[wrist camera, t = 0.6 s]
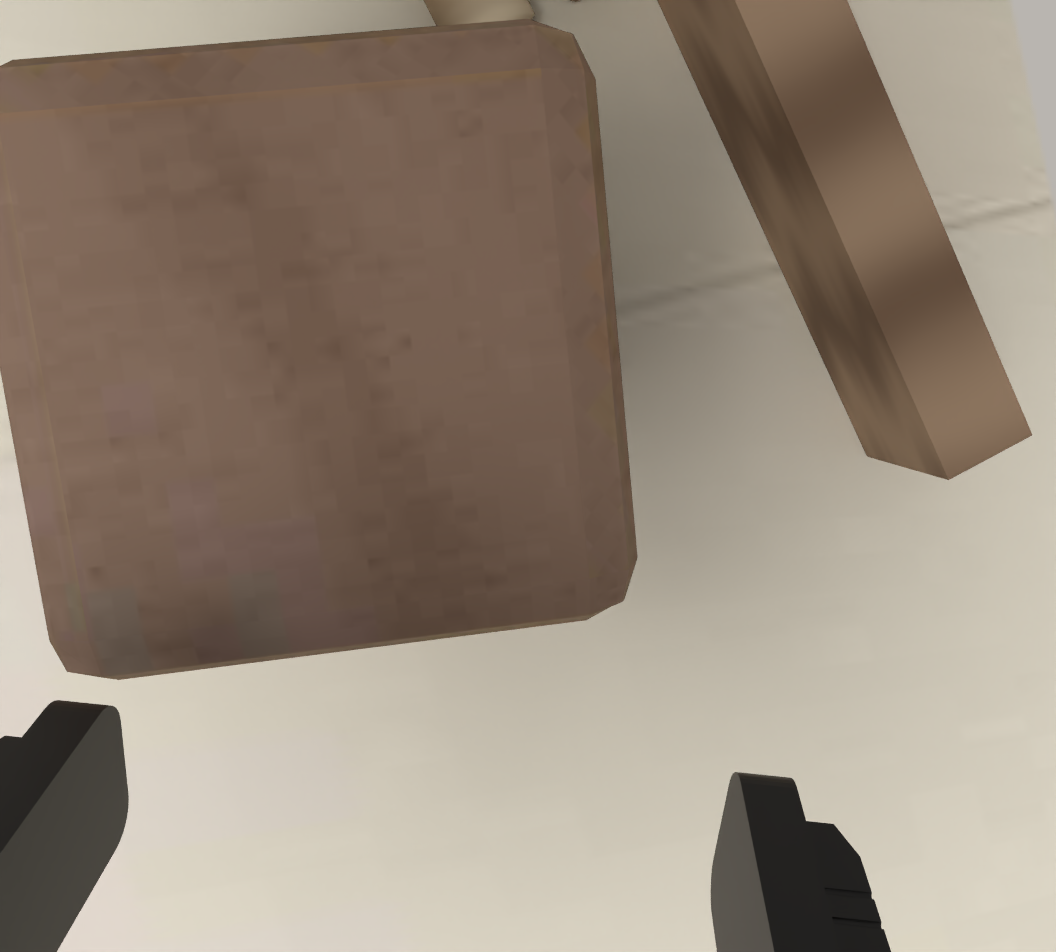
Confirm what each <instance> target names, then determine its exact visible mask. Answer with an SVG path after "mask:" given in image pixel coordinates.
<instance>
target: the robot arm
mask: <svg viewBox="0 0 1056 952" xmlns="http://www.w3.org/2000/svg"><path fill="white" fill-rule="evenodd" d="M128 800H129V799H128V787H127V777H126V768H125V758H124V748H123V739H122V729H121V720H120V715H119V712H118V710H117V709H116V708H115V707H114V706H108V705H99V704H89V703H79V702H70V701H60V700H57V701H53V702H52V703H50V704H49V705H48V706H47V707H46V708H45V709H44V711H43V712H42V713H41V714H40V716H39V717H38V718H37V719H36V721H35V722H34V723H33V724H32V726H31V727H30V728H29V729H28V731H27V732H26V733H25V734H24V736H23V737H22V738H21V737H12V736H4V737H2V738H1V739H0V952H57V950H58V948H59V947H60V945H61V943H62V942H63V940H64V938H65V936H66V935H67V933H68V931H69V929H70V928H71V926H72V924H73V923H74V921H75V919H76V917H77V916H78V914H79V912H80V910H81V909H82V907H83V905H84V904H85V902H86V900H87V898H88V897H89V895H90V893H91V891H92V890H93V888H94V886H95V885H96V883H97V881H98V879H99V878H100V876H101V874H102V872H103V871H104V869H105V867H106V866H107V864H108V862H109V860H110V859H111V857H112V855H113V853H114V852H115V850H116V848H117V846H118V844H119V842H120V839H121V837H122V834H123V831H124V827H125V823H126V819H127V813H128ZM871 894H872V892H871V889H870V886H869V883H868V879H867V876H866V873H865V870H864V867H863V864H862V861H861V858H860V856H859V855H858V854H857V852H856V851H855V850H854V849H853V847H852V846H851V845H850V844H849V843H848V841H847V840H846V839H845V838H844V836H843V835H842V834H841V833H840V831H839V830H838V829H837V828H836V827H835V825H834V824H828V823H818V822H809V821H806V820H805V816H804V812H803V809H802V805H801V801H800V798H799V794H798V790H797V787H796V784H795V782H794V780H793V779H792V778H787V777H777V776H768V775H758V774H748V773H739V772H735V773H733V775H732V777H731V780H730V783H729V787H728V792H727V797H726V802H725V807H724V811H723V816H722V821H721V826H720V831H719V835H718V840H717V845H716V850H715V855H714V860H713V866H712V876H711V910H712V918H713V926H714V933H715V940H716V948H717V952H891V950H890V947H889V944H888V941H887V938H886V935H885V932H884V929H881V919H880V916H879V913H878V910H877V907H876V904H875V901H874V900H873V899H872V898H871Z"/></svg>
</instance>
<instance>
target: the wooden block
mask: <svg viewBox="0 0 1056 952" xmlns="http://www.w3.org/2000/svg"><path fill="white" fill-rule="evenodd" d="M0 371H1V376H2V382H3V387H4V393H5V398H6V404H7V409H8V415H9V420H10V426H11V432H12V437H13V443H14V448H15V454H16V459H17V465H18V470H19V476H20V481H21V487H22V492H23V498H24V503H25V509H26V514H27V520H28V525H29V531H30V536H31V542H32V547H33V553H34V558H35V564H36V569H37V575H38V580H39V586H40V592H41V597H42V603H43V608H44V614H45V619H46V625H47V630H48V635H49V640H50V642H51V644H52V646H53V648H54V649H55V651H56V653H57V655H58V656H59V658H60V660H61V662H62V663H63V665H64V667H65V669H66V671H67V672H72V673H78V674H85V675H91V676H97V677H103V678H110V679H117V680H121V679H128V678H136V677H144V676H152V675H160V674H168V673H175V672H183V671H191V670H199V669H207V668H215V667H222V666H230V665H238V664H246V663H254V662H262V661H269V660H277V659H285V658H293V657H301V656H309V655H317V654H324V653H332V652H340V651H348V650H356V649H364V648H371V647H379V646H387V645H395V644H403V643H411V642H418V641H426V640H434V639H442V638H450V637H458V636H465V635H473V634H481V633H489V632H497V631H505V630H512V629H520V628H528V627H536V626H544V625H552V624H559V623H567V622H575V621H583V620H587V619H589V618H591V617H593V616H594V615H596V614H598V613H600V612H602V611H603V610H605V609H607V608H609V607H611V606H613V605H616V604H618V603H620V602H622V601H623V600H624V599H625V595H626V592H627V589H628V586H629V583H630V579H631V576H632V573H633V570H634V567H635V564H636V560H637V548H636V537H635V525H634V514H633V503H632V491H631V480H630V468H629V457H628V446H627V434H626V423H625V412H624V400H623V389H622V377H621V366H620V355H619V343H618V332H617V321H616V309H615V298H614V286H613V275H612V264H611V252H610V241H609V230H608V218H607V207H606V196H605V184H604V173H603V161H602V150H601V139H600V127H599V116H598V105H597V93H596V82H595V77H594V75H593V73H592V71H591V69H590V67H589V65H588V63H587V61H586V59H585V57H584V55H583V53H582V51H581V49H580V47H579V45H578V43H577V41H576V39H575V37H574V35H573V34H571V33H568V32H564V31H562V30H559V29H556V28H553V27H550V26H547V25H544V24H541V23H538V22H536V21H533V20H530V19H520V20H507V21H495V22H482V23H470V24H457V25H445V26H432V27H420V28H407V29H395V30H382V31H370V32H357V33H345V34H332V35H320V36H307V37H295V38H282V39H269V40H257V41H244V42H232V43H219V44H207V45H194V46H182V47H169V48H157V49H144V50H132V51H119V52H107V53H94V54H82V55H69V56H57V57H44V58H31V59H19V60H12V61H10V62H8V63H6V64H4V65H2V66H0Z"/></svg>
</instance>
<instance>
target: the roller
mask: <svg viewBox="0 0 1056 952" xmlns="http://www.w3.org/2000/svg"><path fill="white" fill-rule="evenodd" d="M424 2H425V4H426V6H427V8H428V10H429V12H430V14H431V16H432V18H433V20H434V22H435V24H436V26H445V25H457V24H470V23H482V22H495V21H507V20H520V19H530V20H532V18H533V17H534V12H533V10H532V8H531V6H530V3H529V1H528V0H424Z"/></svg>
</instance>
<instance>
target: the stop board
mask: <svg viewBox="0 0 1056 952" xmlns="http://www.w3.org/2000/svg"><path fill="white" fill-rule="evenodd" d="M658 3H659V5H660V7H661V9H662V11H663V13H664V16H665V18H666V20H667V22H668V24H669V26H670V29H671V31H672V33H673V35H674V37H675V40H676V42H677V44H678V46H679V48H680V50H681V53H682V55H683V57H684V59H685V61H686V63H687V66H688V68H689V70H690V72H691V74H692V77H693V79H694V81H695V83H696V85H697V87H698V90H699V92H700V94H701V96H702V98H703V100H704V103H705V105H706V107H707V109H708V111H709V113H710V116H711V118H712V120H713V122H714V124H715V127H716V129H717V131H718V133H719V135H720V137H721V140H722V142H723V144H724V146H725V148H726V150H727V153H728V155H729V157H730V159H731V161H732V163H733V166H734V168H735V170H736V172H737V174H738V177H739V179H740V181H741V183H742V185H743V187H744V190H745V192H746V194H747V196H748V198H749V200H750V203H751V205H752V207H753V209H754V211H755V213H756V216H757V218H758V220H759V222H760V224H761V227H762V229H763V231H764V233H765V235H766V237H767V240H768V242H769V244H770V246H771V248H772V250H773V253H774V255H775V257H776V259H777V261H778V264H779V266H780V268H781V270H782V272H783V274H784V277H785V279H786V281H787V283H788V285H789V287H790V290H791V292H792V294H793V296H794V298H795V300H796V303H797V305H798V307H799V309H800V311H801V314H802V316H803V318H804V320H805V322H806V324H807V327H808V329H809V331H810V333H811V335H812V337H813V340H814V342H815V344H816V346H817V348H818V350H819V353H820V355H821V357H822V359H823V361H824V364H825V366H826V368H827V370H828V372H829V374H830V377H831V379H832V381H833V383H834V385H835V387H836V390H837V392H838V394H839V396H840V398H841V401H842V403H843V405H844V407H845V409H846V411H847V414H848V416H849V418H850V420H851V422H852V424H853V427H854V429H855V431H856V433H857V435H858V437H859V440H860V442H861V444H862V446H863V448H864V451H865V453H866V455H867V456H868V457H871V458H875V459H878V460H881V461H885V462H888V463H892V464H895V465H899V466H902V467H906V468H909V469H913V470H916V471H920V472H923V473H927V474H930V475H934V476H937V477H941V478H944V479H947V480H949V479H951V478H953V477H955V476H957V475H959V474H961V473H962V472H964V471H966V470H968V469H970V468H972V467H974V466H976V465H977V464H979V463H981V462H983V461H985V460H987V459H989V458H990V457H992V456H994V455H996V454H998V453H1000V452H1002V451H1004V450H1005V449H1007V448H1009V447H1011V446H1013V445H1015V444H1017V443H1019V442H1020V441H1022V440H1024V439H1026V438H1028V437H1030V436H1032V433H1031V431H1030V428H1029V426H1028V424H1027V421H1026V419H1025V417H1024V414H1023V412H1022V410H1021V407H1020V405H1019V403H1018V400H1017V398H1016V396H1015V393H1014V391H1013V389H1012V386H1011V384H1010V382H1009V379H1008V377H1007V375H1006V372H1005V370H1004V368H1003V365H1002V363H1001V360H1000V358H999V356H998V353H997V351H996V349H995V346H994V344H993V342H992V339H991V337H990V335H989V332H988V330H987V328H986V325H985V323H984V321H983V318H982V316H981V314H980V311H979V309H978V307H977V304H976V302H975V299H974V297H973V295H972V292H971V290H970V288H969V285H968V283H967V281H966V278H965V276H964V274H963V271H962V269H961V267H960V264H959V262H958V260H957V257H956V255H955V253H954V250H953V248H952V246H951V243H950V241H949V238H948V236H947V234H946V231H945V229H944V227H943V224H942V222H941V220H940V217H939V215H938V213H937V210H936V208H935V206H934V203H933V201H932V199H931V196H930V194H929V192H928V189H927V187H926V185H925V182H924V180H923V178H922V175H921V173H920V170H919V168H918V166H917V163H916V161H915V159H914V156H913V154H912V152H911V149H910V147H909V145H908V142H907V140H906V138H905V135H904V133H903V131H902V128H901V126H900V124H899V121H898V119H897V117H896V114H895V112H894V109H893V107H892V105H891V102H890V100H889V98H888V95H887V93H886V91H885V88H884V86H883V84H882V81H881V79H880V77H879V74H878V72H877V70H876V67H875V65H874V63H873V60H872V58H871V56H870V53H869V51H868V49H867V46H866V44H865V41H864V39H863V37H862V34H861V32H860V30H859V27H858V25H857V23H856V20H855V18H854V16H853V13H852V11H851V9H850V6H849V4H848V2H847V0H658Z"/></svg>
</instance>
